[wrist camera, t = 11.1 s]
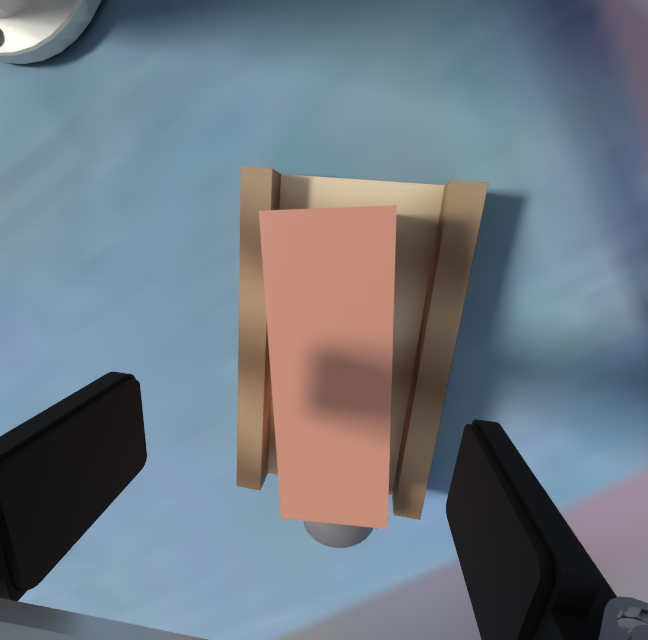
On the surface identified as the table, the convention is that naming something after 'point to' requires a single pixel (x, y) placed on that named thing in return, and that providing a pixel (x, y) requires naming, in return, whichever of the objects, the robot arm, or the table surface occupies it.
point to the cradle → (408, 323)
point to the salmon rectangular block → (331, 364)
